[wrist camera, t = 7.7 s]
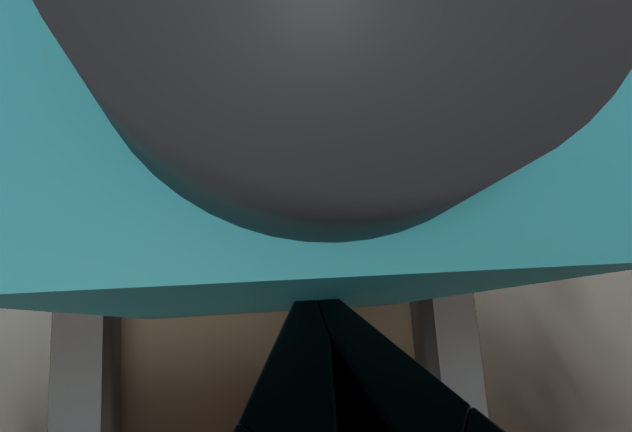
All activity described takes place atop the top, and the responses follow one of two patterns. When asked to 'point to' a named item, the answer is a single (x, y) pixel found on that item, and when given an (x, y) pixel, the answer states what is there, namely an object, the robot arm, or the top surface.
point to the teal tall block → (308, 151)
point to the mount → (223, 363)
